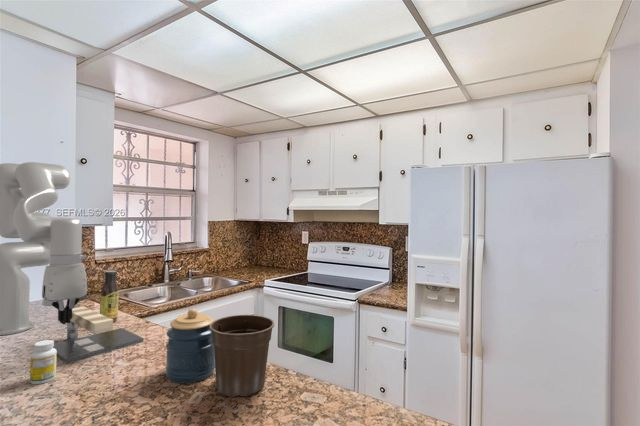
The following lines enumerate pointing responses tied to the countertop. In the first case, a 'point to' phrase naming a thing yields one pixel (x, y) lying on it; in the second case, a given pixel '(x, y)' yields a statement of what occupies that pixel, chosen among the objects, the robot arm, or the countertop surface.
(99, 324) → the swing arm
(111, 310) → the bottle
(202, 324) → the canister
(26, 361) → the countertop surface
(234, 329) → the plant pot
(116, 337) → the label board
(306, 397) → the countertop surface
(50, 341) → the supplement bottle
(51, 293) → the robot arm
